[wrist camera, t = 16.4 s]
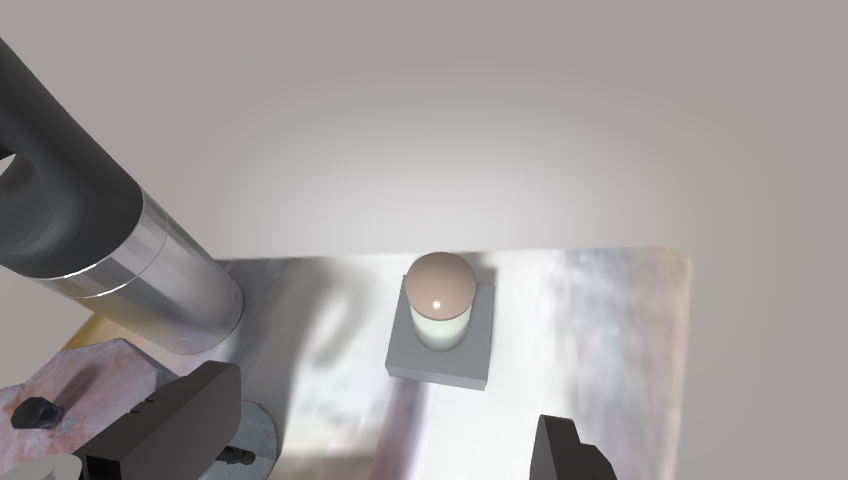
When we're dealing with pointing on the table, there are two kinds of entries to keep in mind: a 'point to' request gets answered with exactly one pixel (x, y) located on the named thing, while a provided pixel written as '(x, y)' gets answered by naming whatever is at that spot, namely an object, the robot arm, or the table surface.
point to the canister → (440, 299)
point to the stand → (451, 366)
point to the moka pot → (111, 410)
